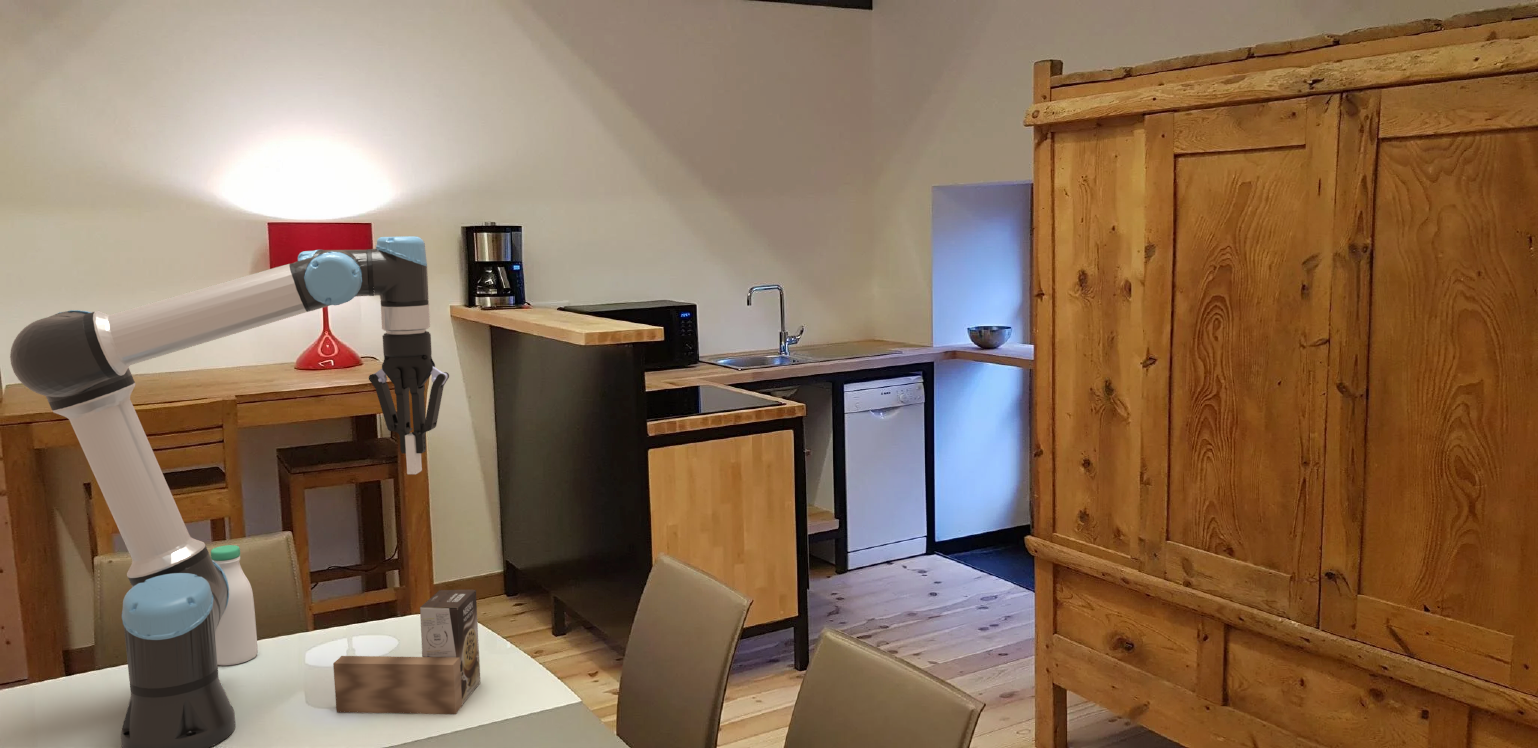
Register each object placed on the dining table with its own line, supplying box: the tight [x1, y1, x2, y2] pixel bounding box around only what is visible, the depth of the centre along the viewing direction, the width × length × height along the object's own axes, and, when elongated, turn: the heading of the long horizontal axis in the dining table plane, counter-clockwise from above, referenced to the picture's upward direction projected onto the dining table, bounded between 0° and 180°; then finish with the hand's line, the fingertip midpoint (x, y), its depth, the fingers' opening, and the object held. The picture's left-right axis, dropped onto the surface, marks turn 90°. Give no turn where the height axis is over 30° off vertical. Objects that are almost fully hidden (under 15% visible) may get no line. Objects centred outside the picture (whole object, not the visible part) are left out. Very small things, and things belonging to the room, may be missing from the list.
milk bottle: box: [210, 544, 259, 666], centre depth 199 cm, size 8×8×20 cm
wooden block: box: [332, 655, 463, 715], centre depth 178 cm, size 19×3×8 cm, turn 86°
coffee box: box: [419, 589, 481, 705], centre depth 183 cm, size 9×6×16 cm
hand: (414, 472), depth 189 cm, fingers closed
